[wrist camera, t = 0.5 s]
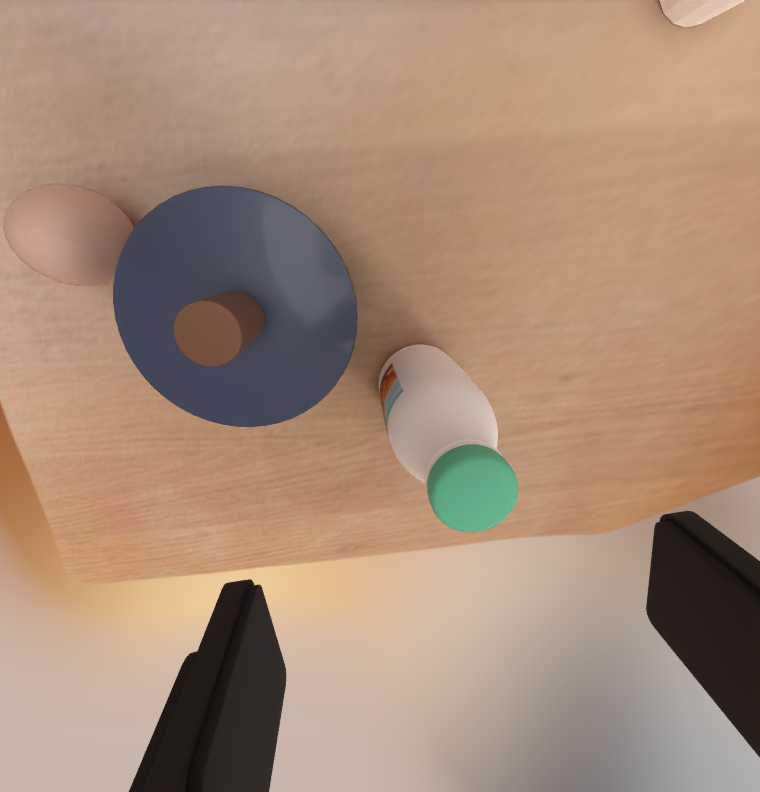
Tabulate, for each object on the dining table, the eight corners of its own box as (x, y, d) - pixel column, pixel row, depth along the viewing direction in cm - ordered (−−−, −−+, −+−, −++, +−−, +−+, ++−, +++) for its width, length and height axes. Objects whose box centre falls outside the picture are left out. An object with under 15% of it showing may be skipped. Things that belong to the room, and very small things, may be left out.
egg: (84, 176, 32) (-23, 145, 23) (168, 222, 34) (99, 210, 24) (59, 255, 34) (-50, 256, 25) (140, 296, 35) (66, 311, 26)
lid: (99, 187, 23) (3, 161, 17) (354, 190, 24) (355, 166, 18) (147, 423, 28) (86, 472, 21) (359, 418, 29) (360, 464, 22)
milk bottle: (404, 327, 38) (455, 399, 19) (472, 367, 39) (582, 470, 20) (363, 396, 40) (372, 525, 21) (429, 431, 41) (493, 580, 22)
